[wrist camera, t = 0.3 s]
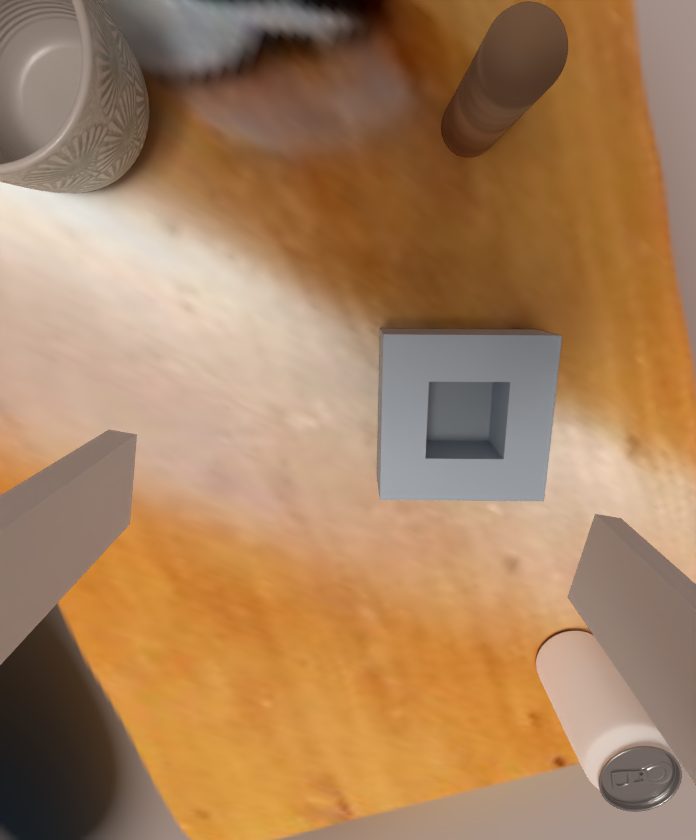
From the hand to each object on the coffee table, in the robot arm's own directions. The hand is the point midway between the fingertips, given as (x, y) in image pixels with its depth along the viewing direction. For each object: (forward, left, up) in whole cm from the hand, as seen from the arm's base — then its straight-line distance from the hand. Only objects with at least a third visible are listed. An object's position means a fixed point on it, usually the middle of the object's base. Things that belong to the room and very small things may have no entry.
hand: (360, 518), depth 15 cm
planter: (-18, -19, -27) cm, 38 cm away
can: (+26, +20, -27) cm, 43 cm away
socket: (+3, +8, -27) cm, 28 cm away
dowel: (-17, +8, -27) cm, 33 cm away
